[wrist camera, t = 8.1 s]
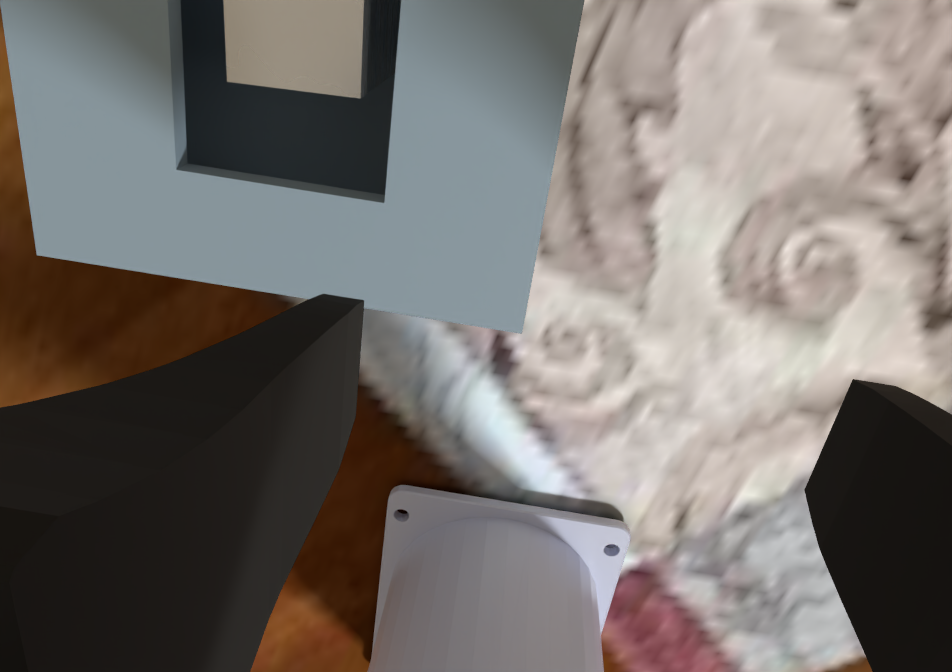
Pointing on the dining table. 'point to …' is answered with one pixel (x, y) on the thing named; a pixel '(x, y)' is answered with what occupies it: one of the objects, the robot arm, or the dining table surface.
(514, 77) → the grey tissue box
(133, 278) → the dining table surface
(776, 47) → the dining table surface
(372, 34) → the white block
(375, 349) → the dining table surface
